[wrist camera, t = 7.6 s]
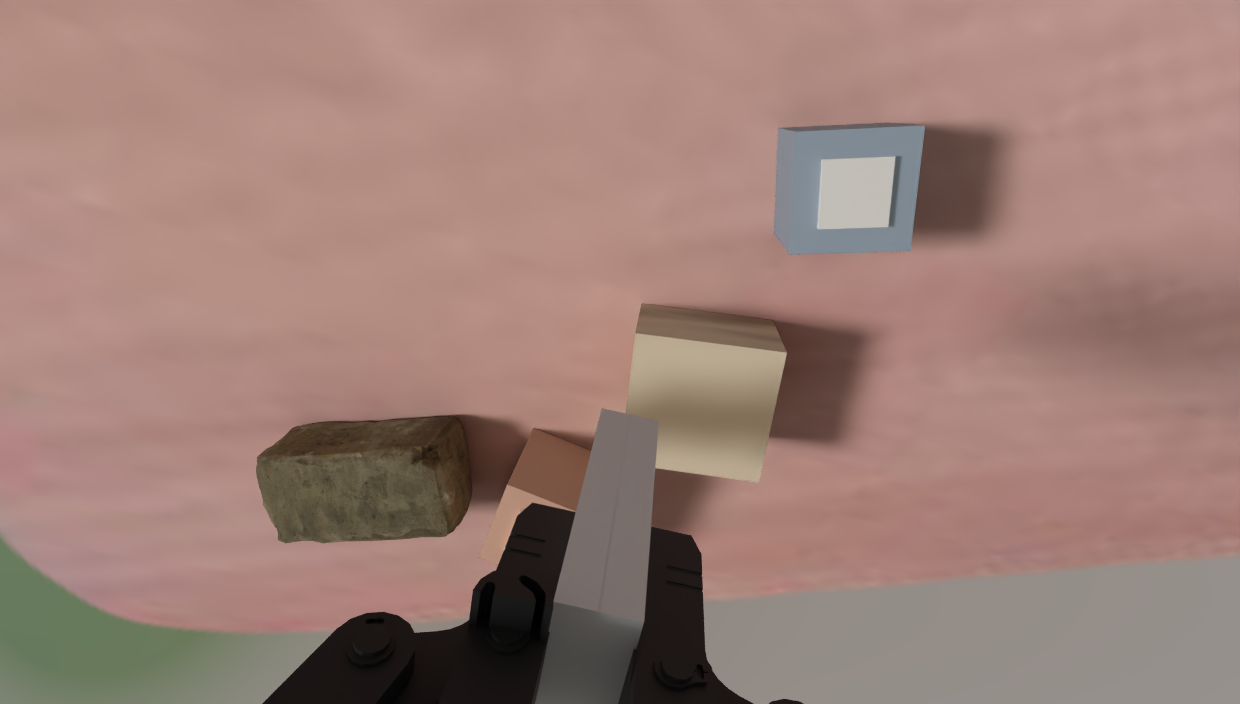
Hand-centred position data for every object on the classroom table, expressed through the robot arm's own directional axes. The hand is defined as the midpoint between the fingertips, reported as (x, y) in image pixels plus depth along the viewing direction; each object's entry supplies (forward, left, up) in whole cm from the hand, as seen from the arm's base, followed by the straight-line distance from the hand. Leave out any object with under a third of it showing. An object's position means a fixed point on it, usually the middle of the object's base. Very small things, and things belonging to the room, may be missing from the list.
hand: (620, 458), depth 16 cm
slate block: (-7, +7, -18) cm, 21 cm away
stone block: (+14, -13, -18) cm, 27 cm away
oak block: (+4, +4, -18) cm, 19 cm away
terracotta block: (+13, -3, -18) cm, 22 cm away
